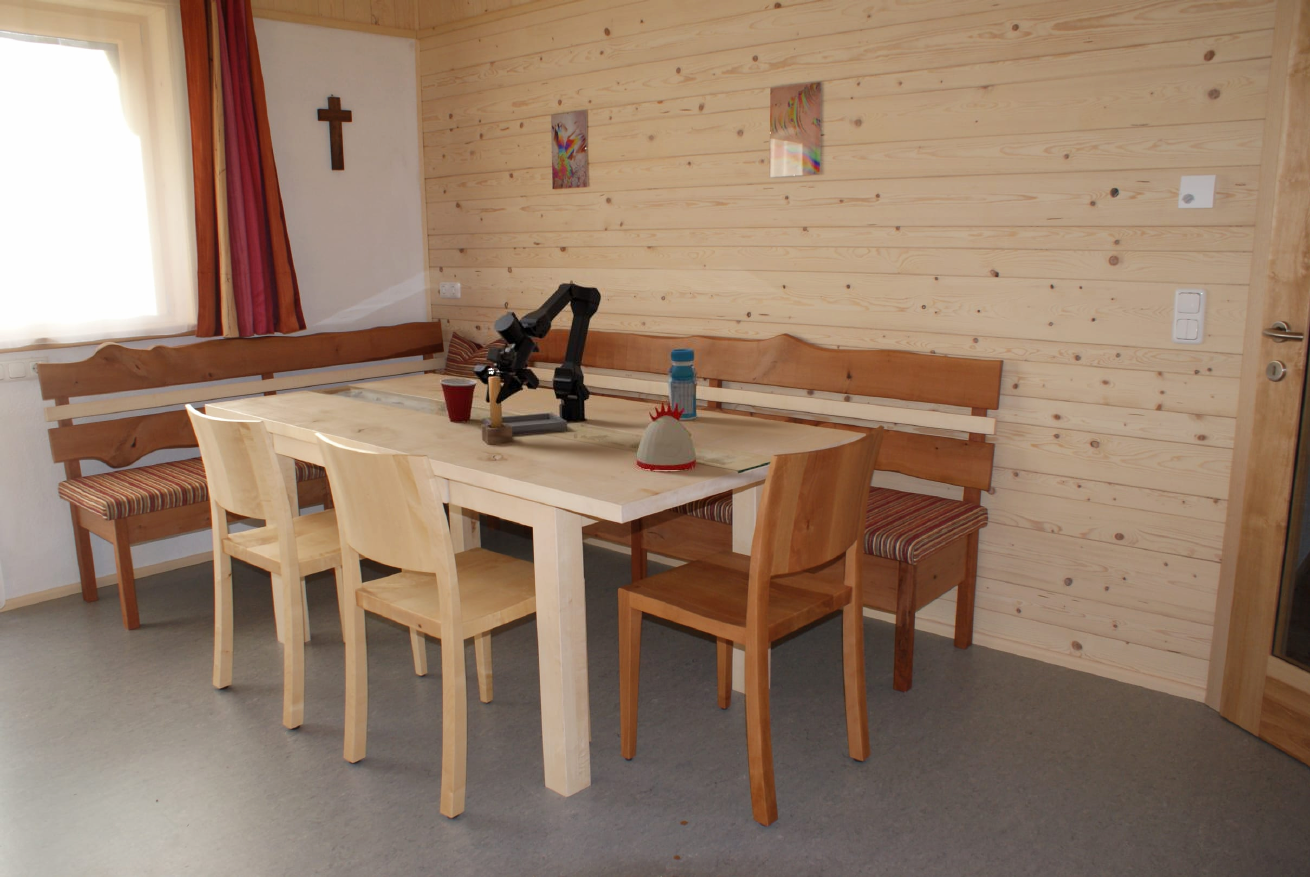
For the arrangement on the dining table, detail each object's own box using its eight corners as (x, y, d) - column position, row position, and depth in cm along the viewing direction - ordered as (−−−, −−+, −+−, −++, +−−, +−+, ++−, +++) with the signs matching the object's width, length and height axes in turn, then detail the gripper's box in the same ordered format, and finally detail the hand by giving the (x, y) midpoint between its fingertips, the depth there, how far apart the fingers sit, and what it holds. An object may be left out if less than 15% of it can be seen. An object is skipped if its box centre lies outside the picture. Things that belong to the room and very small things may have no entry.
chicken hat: (699, 471, 222) (699, 406, 219) (638, 473, 221) (638, 408, 218) (692, 457, 236) (691, 396, 233) (635, 459, 235) (634, 397, 232)
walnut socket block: (506, 437, 260) (505, 422, 260) (512, 442, 254) (512, 427, 254) (482, 439, 258) (481, 424, 257) (487, 444, 252) (487, 429, 251)
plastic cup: (470, 424, 279) (468, 383, 276) (435, 423, 281) (433, 382, 278) (484, 417, 289) (483, 377, 287) (450, 416, 291) (448, 376, 289)
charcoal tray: (551, 421, 283) (551, 412, 282) (567, 430, 269) (567, 421, 268) (483, 426, 275) (483, 418, 275) (496, 436, 262) (495, 427, 261)
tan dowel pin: (500, 424, 257) (498, 376, 255) (503, 426, 255) (501, 377, 252) (489, 425, 256) (487, 376, 253) (492, 427, 253) (489, 378, 251)
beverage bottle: (680, 422, 279) (679, 352, 275) (662, 417, 286) (661, 349, 281) (703, 418, 284) (703, 350, 280) (685, 414, 290) (684, 347, 286)
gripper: (475, 334, 259) (448, 381, 252) (530, 337, 249) (503, 386, 242) (497, 360, 267) (471, 406, 260) (550, 364, 257) (525, 412, 250)
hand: (491, 402), depth 253 cm, fingers closed on tan dowel pin, 3 cm apart
